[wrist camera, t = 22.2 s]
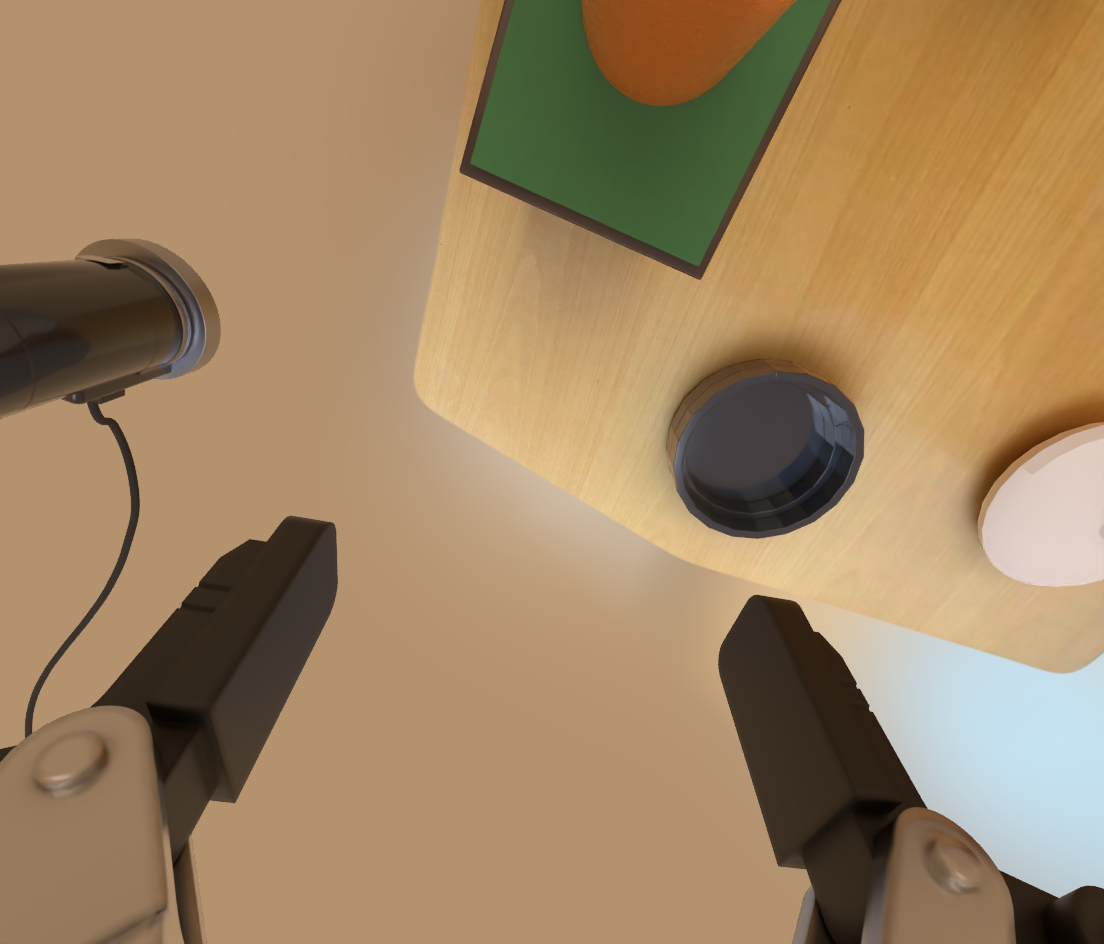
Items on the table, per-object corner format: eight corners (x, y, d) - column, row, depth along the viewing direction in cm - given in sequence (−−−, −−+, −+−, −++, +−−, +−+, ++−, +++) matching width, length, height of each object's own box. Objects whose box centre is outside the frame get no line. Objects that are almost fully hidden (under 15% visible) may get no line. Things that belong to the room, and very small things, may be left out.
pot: (775, 531, 47) (793, 560, 43) (638, 478, 46) (643, 502, 42) (874, 397, 41) (905, 416, 37) (719, 329, 39) (734, 341, 35)
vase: (964, 434, 42) (1031, 470, 36) (1185, 387, 39) (1300, 418, 33) (953, 579, 48) (1008, 632, 42) (1142, 548, 46) (1232, 599, 39)
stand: (645, 253, 37) (700, 280, 20) (521, 198, 36) (458, 171, 18) (746, 28, 31) (959, -233, 13) (600, -47, 30) (621, -443, 12)
